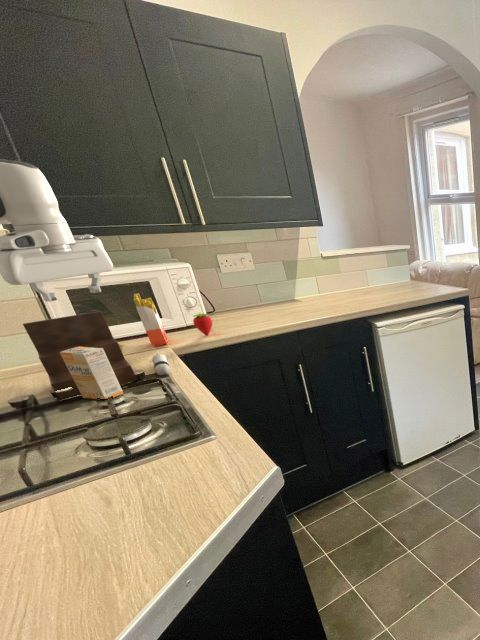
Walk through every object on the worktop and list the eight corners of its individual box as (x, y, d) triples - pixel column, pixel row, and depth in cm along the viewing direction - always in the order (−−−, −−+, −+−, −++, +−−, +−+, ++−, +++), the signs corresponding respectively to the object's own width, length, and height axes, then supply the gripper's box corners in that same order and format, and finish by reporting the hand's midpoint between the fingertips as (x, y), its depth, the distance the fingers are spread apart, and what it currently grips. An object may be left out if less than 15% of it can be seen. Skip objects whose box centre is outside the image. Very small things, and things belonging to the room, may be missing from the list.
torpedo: (175, 374, 123) (167, 353, 121) (155, 379, 121) (146, 357, 118) (169, 359, 136) (162, 340, 133) (151, 363, 133) (143, 344, 130)
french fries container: (169, 338, 159) (150, 291, 151) (168, 345, 150) (148, 295, 143) (154, 341, 156) (134, 293, 149) (152, 348, 148) (131, 297, 141)
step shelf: (60, 401, 109) (24, 335, 101) (55, 384, 120) (22, 323, 113) (138, 381, 119) (110, 320, 112) (126, 367, 131) (101, 310, 124)
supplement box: (81, 399, 110) (57, 352, 104) (102, 391, 114) (79, 345, 108) (105, 401, 108) (81, 353, 102) (124, 393, 112) (103, 346, 107)
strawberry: (214, 331, 165) (206, 306, 161) (218, 335, 160) (209, 309, 156) (196, 335, 162) (187, 309, 158) (200, 338, 156) (190, 312, 152)
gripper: (88, 233, 108) (111, 287, 113) (-22, 242, 90) (13, 306, 95) (106, 233, 106) (128, 288, 112) (-2, 241, 88) (31, 306, 94)
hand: (74, 296), depth 103 cm, fingers open, 8 cm apart
